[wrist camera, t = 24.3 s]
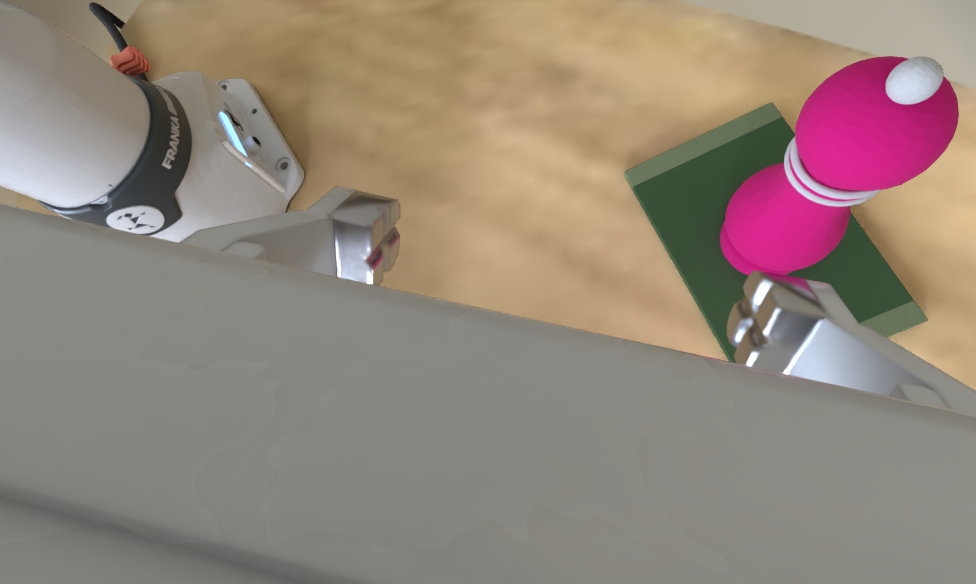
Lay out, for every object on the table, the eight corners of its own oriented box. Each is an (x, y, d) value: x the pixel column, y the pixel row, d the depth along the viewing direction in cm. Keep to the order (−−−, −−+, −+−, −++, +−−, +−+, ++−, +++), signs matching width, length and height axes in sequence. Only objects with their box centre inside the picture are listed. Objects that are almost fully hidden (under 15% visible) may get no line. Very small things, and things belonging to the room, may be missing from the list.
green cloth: (623, 174, 42) (624, 171, 42) (769, 106, 41) (772, 101, 40) (747, 394, 36) (750, 393, 36) (923, 321, 35) (928, 320, 34)
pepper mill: (805, 296, 36) (1030, 167, 17) (702, 272, 38) (805, 133, 19) (824, 207, 38) (1054, -4, 19) (724, 188, 40) (840, -20, 21)
